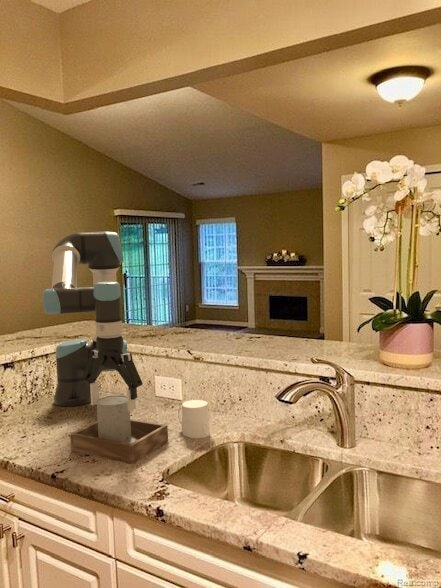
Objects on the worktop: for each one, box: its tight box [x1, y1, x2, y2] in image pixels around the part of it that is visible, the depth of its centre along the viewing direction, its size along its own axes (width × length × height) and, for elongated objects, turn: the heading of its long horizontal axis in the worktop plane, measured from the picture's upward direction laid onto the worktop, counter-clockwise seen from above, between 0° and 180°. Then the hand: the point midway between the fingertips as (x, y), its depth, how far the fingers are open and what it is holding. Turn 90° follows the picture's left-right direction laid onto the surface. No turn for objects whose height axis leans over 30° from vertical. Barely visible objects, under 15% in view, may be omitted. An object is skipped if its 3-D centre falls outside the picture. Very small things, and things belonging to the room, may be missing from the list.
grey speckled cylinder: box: [96, 395, 132, 443], centre depth 145 cm, size 10×10×12 cm
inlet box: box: [69, 418, 169, 465], centre depth 144 cm, size 17×22×5 cm
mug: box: [177, 399, 211, 439], centre depth 153 cm, size 12×9×8 cm
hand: (113, 407), depth 145 cm, fingers open, 13 cm apart
